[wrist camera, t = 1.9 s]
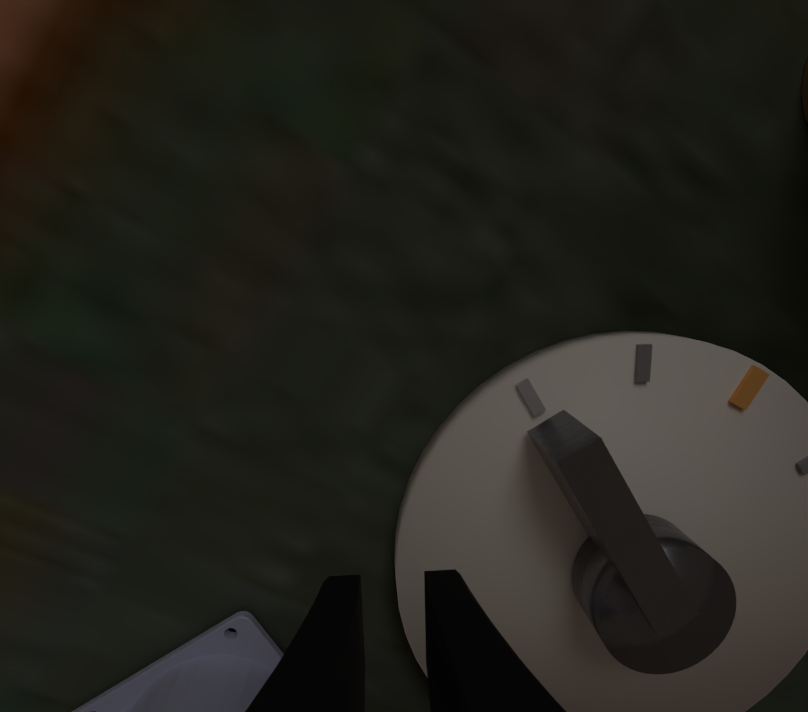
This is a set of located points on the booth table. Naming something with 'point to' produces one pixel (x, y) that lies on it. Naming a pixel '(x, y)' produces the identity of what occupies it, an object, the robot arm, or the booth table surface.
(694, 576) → the dial pointer
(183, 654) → the robot arm
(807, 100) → the cork
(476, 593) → the dial plate
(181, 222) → the booth table surface
